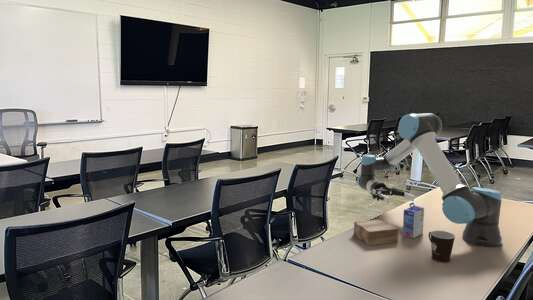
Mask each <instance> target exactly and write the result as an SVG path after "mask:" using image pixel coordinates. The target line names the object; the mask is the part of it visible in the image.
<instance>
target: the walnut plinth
mask: <svg viewBox="0 0 533 300" xmlns="http://www.w3.org/2000/svg"><path fill="white" fill-rule="evenodd" d="M353 223H354V224H353V235H354V236H355V237H357V238H358V239H359V240H361V241H362V242H363V243H365V244H366V245H367V246H373V245H374V246H375V245H383V244H391V243H398V242H399V241H398V239H399V228H397V227H396V226H395V225H393V224H391V223H389V222H387V221H386V220H384V219H382V218H379V219H370V220H369V219H368V220H361V221H360V220H357V221H354V222H353Z"/></svg>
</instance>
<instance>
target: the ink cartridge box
mask: <svg viewBox="0 0 533 300" xmlns="http://www.w3.org/2000/svg"><path fill="white" fill-rule="evenodd" d="M409 206H410V207H408V208H405V209H403V219H402V221H403V224H402V225H403V227H402V229H403V230H402V236H403V237H407V238H410V239H415V238H417V237H419V236H420V235H422V234H424V222H425V221H424V218H425V217H424V216H425V207H421V206H417V205H415V203H414V202H411V203H409Z"/></svg>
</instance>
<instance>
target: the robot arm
mask: <svg viewBox="0 0 533 300" xmlns="http://www.w3.org/2000/svg"><path fill="white" fill-rule="evenodd" d="M442 129H443V122H442V120H441V118H440V117H439V116H438V115H437V114H434V113H430V112H427V113H425V112H424V113H409V114H405V115H403V116H402V117H401V118H400V120H399V122H398V126H397V131H398V133H399V136H400V138H402V139H403V140H402V141H401V142H400V143H398V144H397V145H396V146H394V147H393V148H392V149H391V150H390V151H389V152H387V153H386V154H385V155H384V156H380V157H376V155H374V154H369V153H368V154H363V155H362V157H361V160H360V161H361V162H360V164H361V165H360V175H358V176H357V177H358V178H357V180H356V183H357V186H358V187H360V189H362V190H365V191H367V192H368V193H370V195H371V196H372V199H373V200H376V201H380V200H381V201H382V202H384V203H386V204H390V197H388V196H398V197H403V198H405V199H406V200H408V201H410V202H414V199H415V195H413V194H411V193H410V191H409V190H407V189H405V190H404V189H401V188H396V187H394V186H393V187H388V186H387V185H386V184H385V183H384V182H382V181H380V180H378V179H375V176H376V172H383V171H391V170H395V169H396V168H397V167H398V164H399V163H400V162H401V161H402V160H403V159H405V158H406V157H408V156H409V155H410V154H412V153H413V152H415V151H416V150H418V152H419V154H420V157H422V159H423V161H424V162H425V164H426V167H427V168H428V169H429V171H430V173H431V175H432V176H433V179H434V180H435V182H436V183H437V185H438V187H439V188H440V190H441V192H442V195H441V200H442V201H443V202H442V204H441V206H442V207H441V211H442V213H443V215H444V216H445V217H446V219H447V220H448V221H450V222H451V223H454V224H457V225H462V224H463V225H464V224H466V225H465V227H464V229H463V231H462V239H463V240H464V241H466V242H467V243H470V244H473V245H477V246H481V247H488V248H489V247H490V248H491V247H495V248H496V247H499V246H501V245H502V244H503V243H502V242H503V238H502V236H501V230H500V226H499V223H500V215H501V207H502V202H503V201H502V193H501V192H500V191H498V190H494V189H490V188H487V187H486V188H485V187H478V186H477V187H476V186H473V187H471V188H470V187H469V185H466V184H463V182H462V181H461V180H460V178H459V176H458V175H457V173H456V172H455V169H454V168H453V166H452V165H451V163H450V162H449V160H448V158H447V157H446V155H445V153H444V152H443V150H442V149H441V147H440V145H439V144H438V142H437V140H436V139H435V138H436V137H438V136H439V135H440V133H441V132H442Z"/></svg>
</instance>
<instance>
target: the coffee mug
mask: <svg viewBox="0 0 533 300" xmlns="http://www.w3.org/2000/svg"><path fill="white" fill-rule="evenodd" d="M455 237H456V236H455V234H453V232H452V233H451V232H449V231H447V230H432V231H430V232H428V239H429V241H430V245H431V247H430V248H431V259H432V260H434V261H435V262H438V263H444V264H446V263H449V262H450V261H451V257H452V251H453V247H454V242H455V240H456V239H455Z"/></svg>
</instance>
